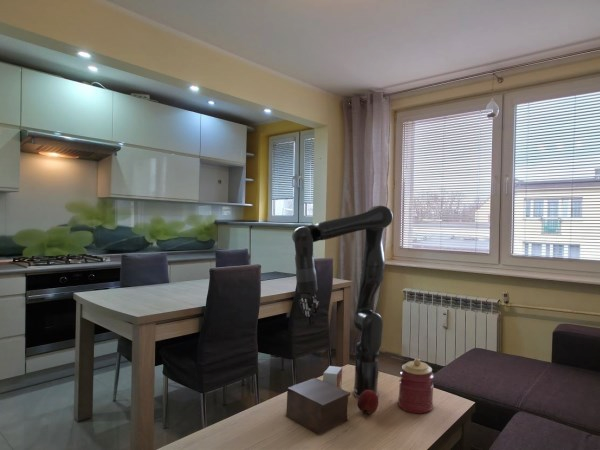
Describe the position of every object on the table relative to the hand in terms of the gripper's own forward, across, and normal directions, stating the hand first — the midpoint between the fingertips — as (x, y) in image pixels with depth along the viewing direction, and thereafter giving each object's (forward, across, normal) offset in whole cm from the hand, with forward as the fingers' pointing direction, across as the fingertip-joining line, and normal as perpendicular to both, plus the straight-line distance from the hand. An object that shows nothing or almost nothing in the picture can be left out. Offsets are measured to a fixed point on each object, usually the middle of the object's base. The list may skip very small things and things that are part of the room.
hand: (311, 325), depth 142 cm
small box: (+30, +2, -7) cm, 30 cm away
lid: (+20, -10, +5) cm, 23 cm away
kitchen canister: (+34, -21, -29) cm, 50 cm away
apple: (+32, -16, -10) cm, 37 cm away
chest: (+29, -9, +6) cm, 31 cm away
